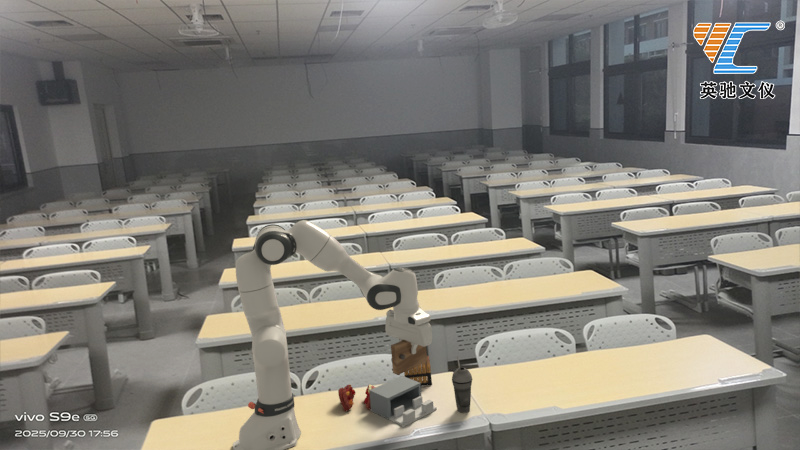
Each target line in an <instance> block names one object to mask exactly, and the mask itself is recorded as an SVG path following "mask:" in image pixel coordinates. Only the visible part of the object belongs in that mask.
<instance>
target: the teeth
mask: <svg viewBox="0 0 800 450" xmlns="http://www.w3.org/2000/svg"><path fill="white" fill-rule="evenodd" d="M373 388H375V386H374V385H372V384H368V385H367V388H366V390H365V395H366V397H364V400H363V403H364V404H365V406H366V408H367V409H368V410H370V411H371V405H370V392H369V390H371V389H373ZM337 392H338V399H339V401H340V404H341V407H342V409H343V412H348V411H350V410H351V409H352V407H353V405H354V404H355V403H354V399H355V395H356V394H357V393H356V392H357V391H355V389H354V388H353V386H352V385H351V384H346V386H344V387H340V388H339V389H338V391H337Z"/></svg>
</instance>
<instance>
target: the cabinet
mask: <svg viewBox="0 0 800 450" xmlns="http://www.w3.org/2000/svg"><path fill="white" fill-rule="evenodd" d="M374 387H375V386H374ZM369 392H370V405H371V410H370V412H372V413H374V414H376V415H378V416H381V417H382V418H385V419H387V420H389V421H391V422H393V423H395V424H397V425H399V426H401V427H406V426H408V425H410V424H412V423H414V422H416V421H418V420H419V419H422V418H423V417H426V416H428V415H429V414H431V413H433V412H435V411H437V407H436V406H434V401H433V400H431V399H428V400H425V401H423V396H422V386H421V383H420V382H417V381H414V379H413V380H412V379H409V378H407V377H405V376H403V375H400V376H398V377H396V378H394V379H391V380H389V381H387V382H385V383H383V384H381V385H378V386H376V387H375V388H373V389H371V390H369Z"/></svg>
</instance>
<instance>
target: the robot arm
mask: <svg viewBox="0 0 800 450" xmlns="http://www.w3.org/2000/svg"><path fill="white" fill-rule="evenodd" d="M347 252H348V251H346V248H345V247H344V246H343V245H342V244H341V243H340V241H338V239H336V238H335V237H334V236H332V235H331V234H330V233H329V232H327V231H326V230H324V229H323V228H321V227H320V226H319V225H317V224H315V223H313V222H311V221H309V220H308V219H307V220H306V219H303V220H298V221H297V222H295V223H294V224H293V225H292V226H291V228H289V229H285V228H284V227H283V226H281V225H278V224H275V223H274V224H273V223H272V224H267V225H265V226H263V227H262V228H260V229H259V231H258V232H257V235H256V238H255V240H254V244H253V247H252V251H249V252H246V253H244V254H242V255H240V256H239V257H238V258H237V259H236V261H235V278H236V285H237V289H238V293H239V296H240V301H241V305H242V310H243V312H244V316H245V318H246V321H247V325H248V328H249V330H250V335H251V341H252V342H251V352H252V359H253V368H254V373H255V380H256V389H257V400H256V403H254V402H253V401H249V402H248V405H247V407H248V408H249V409H250V410H254V411H253V413H252V414H251V415H250V416H249V418H248V419H247V420H246V421H245V422H244V423H243V424H242V425H241V427H240V429H239V433H238V434H239V435H238V439H237V440H235V441H234V442H232V443H233V444H232V450H287V449H290V448H292V447H295V446H296V445H297V444H298V439H299V438H300V436H301V434H302V433H301V429H300V427H299V424H298V421H297V417H296V413H295V398H294V397H295V396H294V393H293V390H292V383H291V372H290V371H291V370H290V362H289V351H288V350H289V349H288V342H287V341H288V340H287V333H286V328H285V324H284V320H283V317H282V313H281V310H280V306H279V302H278V299H277V298H278V297H277V294H276V293H277V292H276V290H275V286H274V285H275V284H274V280H273V277H272V272H271V267H272V266H274V265H275V266H276V265H279V264H281V263H283V262H284V261H286V260H288V259H289V258H290V257H292V256H293V255H296V254H298V255H300V256H302V258H304V259H305V260H307V261H308V262H310V263H311V264H312V265H314V266H315V267H317V268H319V269H320V270H323V271H324V272H338V273H340V274H342V275H343V276H344V277H346V278H347V279H348V280H350V281H351V282H352V283H354V284H355V285H356V286H357V287H358V288H359V290H360V292H361V294H362V296H363V297H364V298H365V300H366V302H367V304H368V306H370V308H372V309H374V310H375V311H376V310H377V311H383V310H387V309H389V310H387V312H386V317H385V334H386V335H387V336H389V337H392V338H395V339H398V342H400V341H403V340H405V341H408V342H411V345H412V348H411V349H410V353H411V354H416V348H417V346H418V345H420V346H423V347H425V346H426V347H427V346H429V345H432V344H431V343H432V342H433V334H432V333H433V332H432V325H431V324H430V322H431V315H430V314H428V313H427V312H425V311H424V310H423V309H422V308H421V307H420V306H419V305H420V303H419V300H418V294H419V290H418V280H417V275H416V273H415V272H414V271H413V270H412V269H411V268H407V267H402V266H399V267H394V268H392V270H391V271H390V272H389V273H387V274H385V275H383V274H381V273H378V272H375V271H370V270H369V269H366V268H365V267H364V266H362V265H361V264H360V263H358V262H357V261H356V260H354V259H353V258H352V257H351V256H350V255H349V254H348V253H347ZM391 308H392V309H391Z"/></svg>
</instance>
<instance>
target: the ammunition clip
mask: <svg viewBox="0 0 800 450" xmlns="http://www.w3.org/2000/svg"><path fill="white" fill-rule="evenodd" d="M430 360H431V359H430V356H429V355H427V362H426V363H424V364H422V365H419V366H417V367H415V368H412V369H410V370H408V371H406V372H403V373H404V374H403V375H404V377H407V378H409V379H412V380H414V381H417V382H420V383H421V387H425V386H426V387H427V386H432V385H433V382H432V381H433V380H432V370H431V363H430V362H431V361H430Z"/></svg>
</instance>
